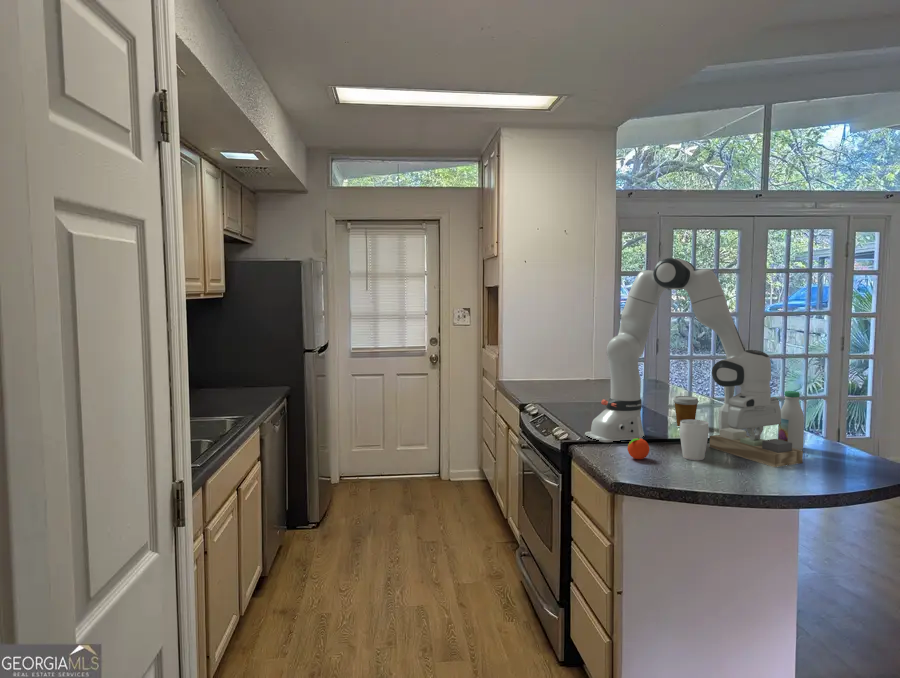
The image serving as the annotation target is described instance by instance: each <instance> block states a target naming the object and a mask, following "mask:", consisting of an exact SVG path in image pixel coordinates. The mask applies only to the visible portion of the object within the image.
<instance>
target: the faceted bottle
mask: <svg viewBox="0 0 900 678" xmlns="http://www.w3.org/2000/svg"><path fill="white" fill-rule="evenodd" d="M735 389H736V386H732V387H724V386H723V394H724V403H723V405H721V406H720V408H718V427H719V431H720V429H725V428H730V426H729V424H728V413H729V408H730V406H732V405H730V404H729V399H730V398H732V397H734V396H735Z"/></svg>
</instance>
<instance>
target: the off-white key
mask: <svg viewBox="0 0 900 678" xmlns="http://www.w3.org/2000/svg"><path fill="white" fill-rule="evenodd" d="M747 433H748V431H747V430H745V429H733V428H725V429H720V430H719V435H720V437H723V438H727V439H731V440H739V439H741V438H746V436H747Z"/></svg>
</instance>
